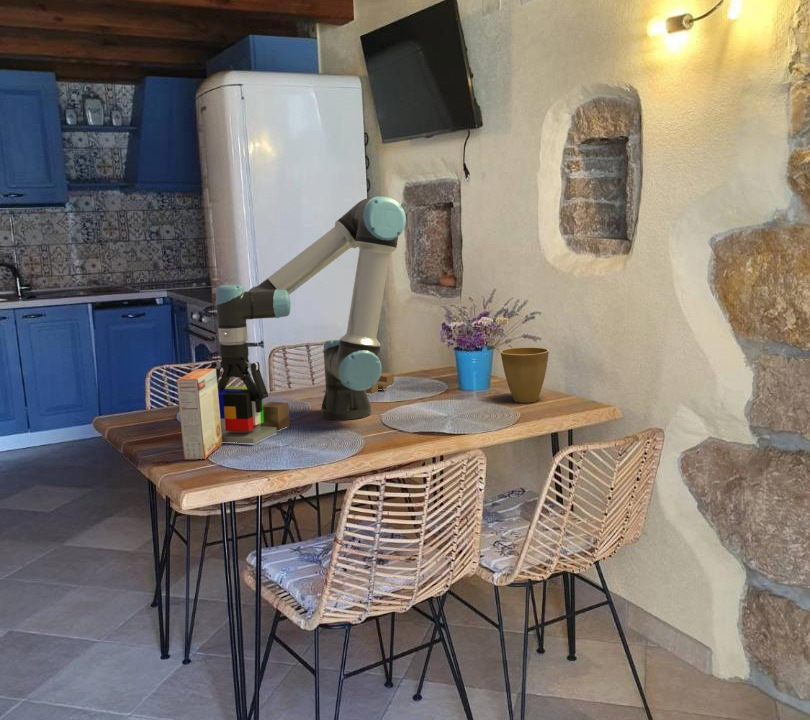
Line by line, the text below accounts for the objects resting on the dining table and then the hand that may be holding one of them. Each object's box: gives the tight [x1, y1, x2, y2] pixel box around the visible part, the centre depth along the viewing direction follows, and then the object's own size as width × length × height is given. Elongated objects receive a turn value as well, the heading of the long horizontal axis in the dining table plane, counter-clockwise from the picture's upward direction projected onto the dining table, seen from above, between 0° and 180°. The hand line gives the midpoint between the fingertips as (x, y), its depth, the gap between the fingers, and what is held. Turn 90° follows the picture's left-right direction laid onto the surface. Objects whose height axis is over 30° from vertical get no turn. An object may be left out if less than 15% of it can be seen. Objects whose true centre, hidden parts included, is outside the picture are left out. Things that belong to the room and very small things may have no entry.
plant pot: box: [500, 346, 550, 404], centre depth 255 cm, size 15×15×16 cm
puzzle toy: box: [218, 385, 264, 431], centre depth 221 cm, size 10×10×10 cm
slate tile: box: [221, 425, 278, 443], centre depth 223 cm, size 16×12×2 cm
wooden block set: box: [365, 372, 395, 394], centre depth 282 cm, size 17×6×18 cm
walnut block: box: [259, 401, 290, 430], centre depth 232 cm, size 6×6×7 cm
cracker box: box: [176, 368, 223, 461], centre depth 208 cm, size 14×6×21 cm, turn 174°
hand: (239, 422), depth 222 cm, fingers closed on puzzle toy, 10 cm apart
